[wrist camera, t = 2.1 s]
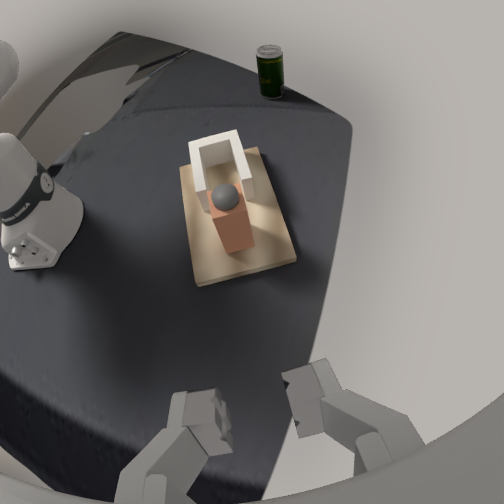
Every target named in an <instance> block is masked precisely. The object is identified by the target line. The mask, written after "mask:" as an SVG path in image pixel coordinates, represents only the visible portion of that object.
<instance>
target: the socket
mask: <svg viewBox="0 0 504 504" xmlns="http://www.w3.org/2000/svg"><path fill="white" fill-rule="evenodd" d="M188 143H189V150H190V157H191V164H192V171H193V178H194V184H195V191H196V194H197V196H198V199H199V201H200V203H201V206H202V208H203V210H204V212H206V211H210V206H209V201H208V196H207V192H208V191H210V188H209V183H208V178H207V173H206V168H208V167H211V166H215V165H219V164H222V163H226V162H230V161H234V162H235V165H236V168H237V172H238V175H239V179H240V182H241V186H242V189H243V193H244V196H245V200H246V201H248V200H251V199H255V193H254V187H253V180H252V176H251V173H250V170H249V167H248V163H247V160H246V157H245V154H244V151H243V148H242V145H241V142H240V139H239V136H238V133H237V130H232V131H228V132H224V133H220V134H217V135H213V136H209V137H205V138H202V139H198V140H195V141H191V142H188Z"/></svg>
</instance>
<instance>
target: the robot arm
mask: <svg viewBox="0 0 504 504" xmlns="http://www.w3.org/2000/svg"><path fill="white" fill-rule="evenodd" d="M18 69H19V62H18V57H17V54H16V52H15V50H14V49H13V47H12V46H11V45H10V44H8V43H7V42H4V41H1V40H0V101H1V99H2V98H3V97H4V95H5V94H6V93H7V92H8V90H9V89H10V88H11V86H12V85H13V84H14V82H15V81H16V80H17V76H18ZM82 218H83V204H82V201H81V200H80V199H79V198H78V197H77V196H75V195H73V194H71V193H70V192H68V191H67V190H66V189H65V188H63V187H62V186H60V185H59V184H58V183H57V182H55V181H54V180H53V179H52V178H51V176H50V175H49V173H48V172H47V170H46V169H45V168H44V167H43V166H42V165H41V163H40V162H39V161H38V160H36V159H33V158H32V157H31V155H30V154H29V153H28V152H27V151H26V149H25V148H24V147H23V146H22V145H21V143H20V142H19V141H18V139H17V138H16V137H15V136H14V135H12V134H9V133H1V134H0V219H1V221H2V231H1V244H2V247H3V249H4V250H5V251H6V252H7V253H8V254H9V265H10V268H11V269H13V270H23V269H34V268H46V267H53V266H54V265H55V264H56V262H57V261H58V259H59V257H60V255H61V253H62V251H63V250H64V249H65V248H66V247H67V246H68V244H69V243H70V242H71V241H72V239H73V238H74V236H75V235H76V233H77V231H78V229H79V227H80V224H81V221H82ZM281 373H282V377H283V381H284V385H285V389H286V393H287V397H288V400H289V404H290V408H291V411H292V415H293V419H294V422H295V426H296V429H297V433H298V436H299V438H303V437H307V436H311V435H315V434H319V433H322V432H325V433H326V434H327V435H329V436H330V437H332V438H333V439H334V440H336V441H337V442H339V443H340V444H342V445H343V446H345V447H346V448H347V449H349V450H351V451H352V452H353V453H355V461H354V477H352V478H349V479H346V480H343V481H340V482H337V483H334V484H330V485H327V486H323V487H320V488H316V489H313V490H309V491H305V492H301V493H297V494H292V495H288V496H283V497H278V498H273V499H268V500H261V501H255V502H248V503H240V504H504V393H503V394H502V395H501V396H499V397H498V398H497V399H496V400H494V401H493V402H492V403H490V404H489V405H488V406H486V407H485V408H484V409H482V410H481V411H479V412H478V413H477V414H475V415H474V416H472V417H471V418H469V419H468V420H466V421H465V422H464V423H462V424H460V425H459V426H457V427H456V428H454V429H453V430H451V431H449V432H448V433H446V434H444V435H443V436H441V437H439V438H437V439H436V440H434V441H432V442H430V443H428V444H427V445H425V444H424V442H423V441H422V439H421V437H420V435H419V434H418V433H417V431H416V429H415V427H414V426H413V424H412V423H411V421H410V420H409V418H408V416H407V415H404V414H402V413H399V412H397V411H395V410H392V409H390V408H388V407H385V406H383V405H381V404H378V403H376V402H374V401H372V400H369V399H367V398H365V397H363V396H361V395H358V394H356V393H354V392H352V391H350V390H347V389H346V390H344V391H343V390H342V388H341V386H340V384H339V382H338V380H337V378H336V376H335V374H334V372H333V370H332V368H331V366H330V364H329V362H328V360H327V359H326V358H324V359H321V360H318V361H315V362H311V363H309V364H306V365H302V366H299V367H295V368H292V369H288V370H285V371H281ZM231 427H232V425H231V417H230V412H229V410H228V407H227V405H226V402H224V401H222V397H221V392H220V390H219V388H218V387H216V386H215V387H209V388H203V389H196V390H189V391H184V392H176V393H174V394H173V395H172V398H171V404H170V410H169V416H168V422H167V428H166V429H162V430H161V431H160V432H159V433H158V434H157V435H156V436H155V437H154V438H153V440H152V441H151V442H150V443H149V444H148V445H147V446H146V447H145V448H144V449H143V450H142V451H141V452H140V453H139V454H138V455H137V456H136V457H135V458H134V459H133V460H132V461H131V462H130V463H129V464H128V465H127V466H126V467H125V468H124V469H123V470H122V471H121V473H120V477H119V481H118V486H117V491H116V495H115V500H114V503H111V502H104V501H98V500H92V499H87V498H82V497H77V496H73V495H68V494H64V493H60V492H56V491H53V490H49V489H46V488H42V487H39V486H35V485H32V484H29V483H27V482H24V481H21V480H18V479H16V478H13V477H10V476H8V475H5V474H3V473H0V504H196V503H195V502H194V501H193V500H191V499H190V498H189V497H188V496H187V495H186V493H187V491H188V490H189V488H190V487H191V485H192V484H193V482H194V481H195V479H196V477H197V476H198V474H199V473H200V471H201V469H202V468H203V466H204V465H205V463H206V461H207V460H208V458H209V457H208V456H214V455H221V454H227V453H232V452H233V442H232V436H231V434H230V432H229V430H230V429H231Z"/></svg>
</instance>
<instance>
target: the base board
mask: <svg viewBox="0 0 504 504" xmlns="http://www.w3.org/2000/svg"><path fill="white" fill-rule="evenodd" d="M243 151H244V154H245V157H246V160H247V163H248V167H249V170H250V173H251V176H252V180H253V187H254V193H255V199H251V200H248V201H246V200H245V196H244V193H243V189H242V186H241V182H240V179H239V175H238V172H237V168H236V165H235V162H234V161H230V162H226V163H222V164H219V165H215V166H211V167H208V168H206V173H207V178H208V183H209V188H210V191H211V190H213V189H214V188H215V187H217V186H218V185H221V184H225V183H227V184H232V185H234V184H238V183H240V186H241V189H242V193H243V196H244V200H245V203H246V207H247V211H248V216H249V220H250V225H251V230H252V235H253V239H254V244H255V247H252V248H248V249H244V250H240V251H236V252H232V253H229V254H226V251H225V249H224V247H223V244H222V242H221V239H220V237H219V235H218V232H217V230H216V227H215V225H214V223H213V220H212V216H211V211H206V212H204V210H203V208H202V206H201V203H200V201H199V199H198V196H197V194H196V191H195V184H194V178H193V171H192V164H189V165H186V166H182V167H180V176H181V185H182V193H183V201H184V209H185V217H186V224H187V232H188V239H189V245H190V252H191V259H192V265H193V271H194V277H195V283H196V285H197V286H198V287H201V286H205V285H209V284H213V283H217V282H221V281H224V280H228V279H232V278H236V277H240V276H244V275H248V274H252V273H255V272H259V271H263V270H267V269H271V268H274V267H278V266H282V265H286V264H289V263H293V262H296V258H297V257H296V254H295V251H294V248H293V245H292V242H291V239H290V236H289V233H288V230H287V227H286V225H285V222H284V219H283V216H282V213H281V210H280V208H279V205H278V202H277V199H276V196H275V194H274V191H273V188H272V185H271V183H270V180H269V177H268V175H267V172H266V169H265V166H264V164H263V161H262V158H261V156H260V153H259V151H258V148H257V147H254V148H250V149H245V150H243Z"/></svg>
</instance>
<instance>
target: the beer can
mask: <svg viewBox="0 0 504 504" xmlns="http://www.w3.org/2000/svg"><path fill="white" fill-rule="evenodd" d="M256 58H257V67H258V75H259V84H260V93H261V95H262V96H263V97H264V98H266V99H269V100H275V99H279V98H281V97H282V96H283V94H284V72H283V52H282V51H281V48H280V47H279V46H276V45H264V46H261V47H259V48H257V53H256Z"/></svg>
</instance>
